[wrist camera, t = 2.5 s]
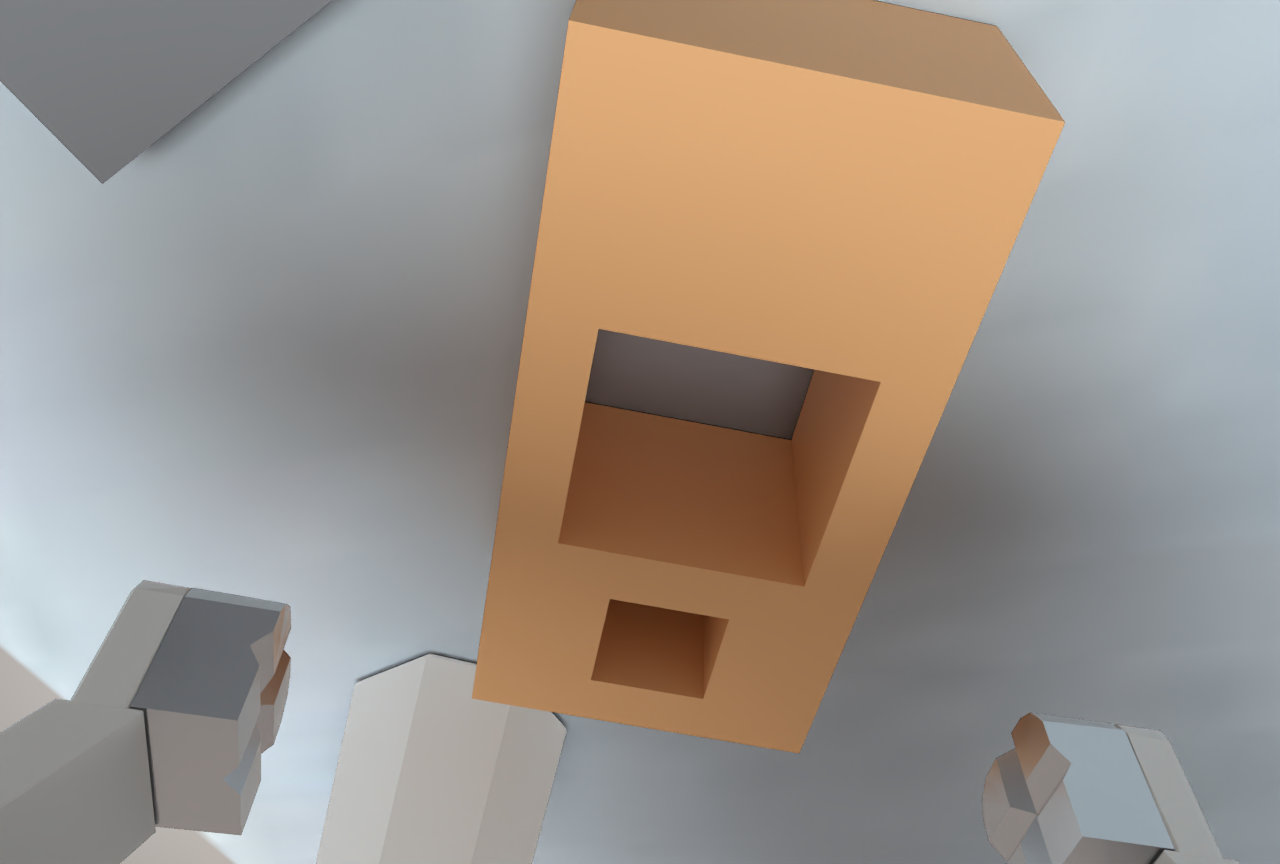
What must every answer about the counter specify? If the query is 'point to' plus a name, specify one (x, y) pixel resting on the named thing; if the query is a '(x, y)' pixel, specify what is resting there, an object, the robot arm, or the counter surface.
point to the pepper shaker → (438, 772)
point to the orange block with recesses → (744, 343)
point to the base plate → (131, 64)
